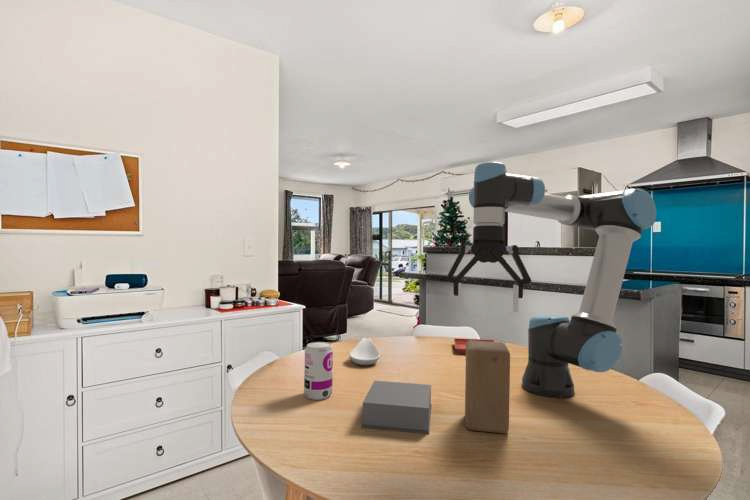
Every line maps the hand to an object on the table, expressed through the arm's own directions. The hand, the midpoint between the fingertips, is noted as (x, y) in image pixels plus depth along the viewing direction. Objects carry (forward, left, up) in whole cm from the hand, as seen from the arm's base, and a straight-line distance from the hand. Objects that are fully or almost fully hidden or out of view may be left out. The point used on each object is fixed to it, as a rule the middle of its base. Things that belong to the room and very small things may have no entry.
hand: (487, 310), depth 97 cm
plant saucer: (-3, -73, -29) cm, 79 cm away
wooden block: (0, 0, -29) cm, 29 cm away
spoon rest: (+41, -49, -29) cm, 71 cm away
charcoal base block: (+22, 0, -29) cm, 36 cm away
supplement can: (+47, -9, -29) cm, 56 cm away
